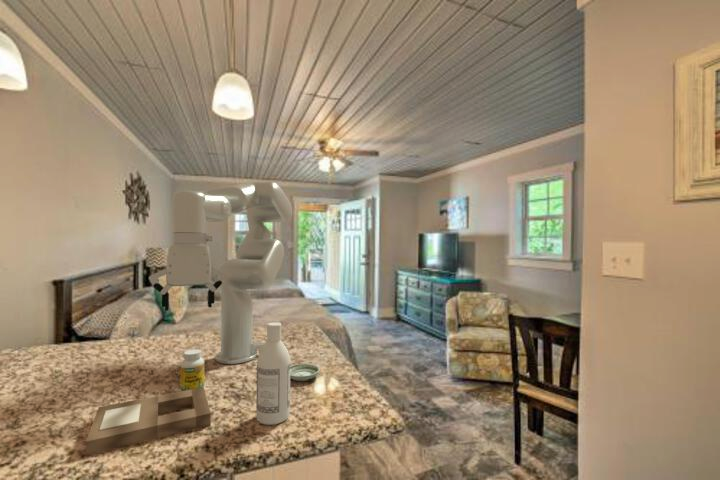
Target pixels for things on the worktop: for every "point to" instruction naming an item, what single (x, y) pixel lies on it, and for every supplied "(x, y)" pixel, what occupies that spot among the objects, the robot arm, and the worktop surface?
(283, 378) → the bath foam
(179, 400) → the rack board
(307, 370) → the saucer
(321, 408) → the worktop surface
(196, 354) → the supplement bottle
